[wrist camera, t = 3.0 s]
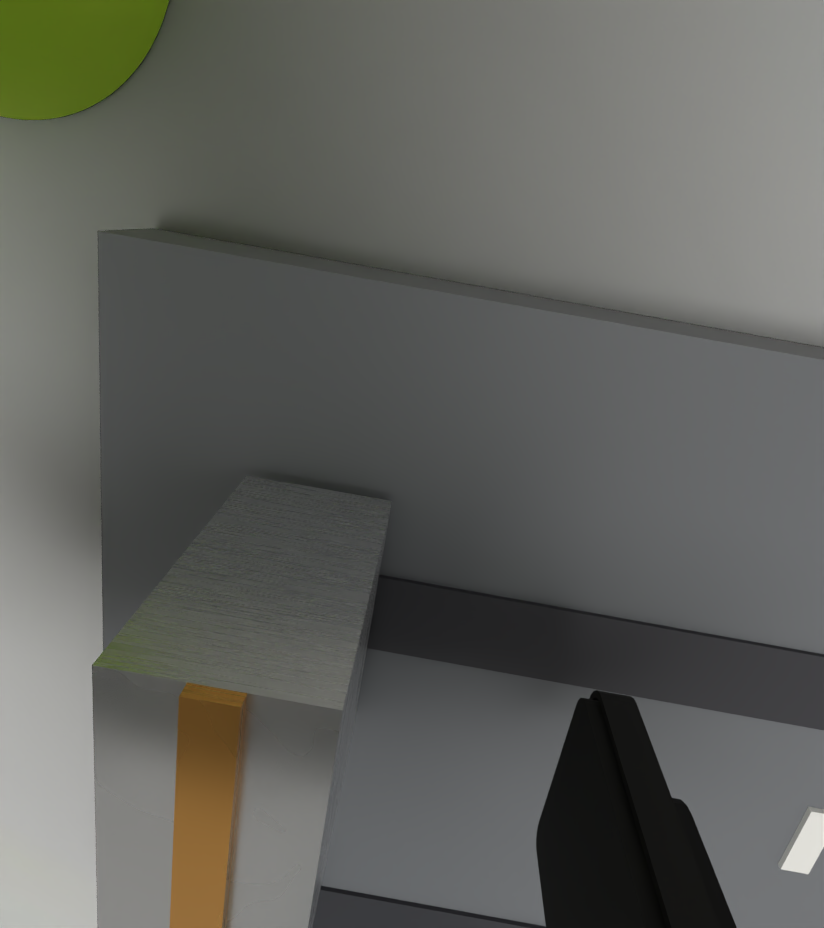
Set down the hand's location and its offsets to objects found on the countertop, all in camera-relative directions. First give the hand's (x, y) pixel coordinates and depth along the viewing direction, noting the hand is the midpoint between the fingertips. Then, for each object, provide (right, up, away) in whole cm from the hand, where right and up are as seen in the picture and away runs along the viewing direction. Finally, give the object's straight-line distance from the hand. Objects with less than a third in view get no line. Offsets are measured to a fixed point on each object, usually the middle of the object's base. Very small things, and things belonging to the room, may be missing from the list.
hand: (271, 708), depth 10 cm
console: (+6, -2, +5) cm, 8 cm away
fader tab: (0, +1, +2) cm, 2 cm away
